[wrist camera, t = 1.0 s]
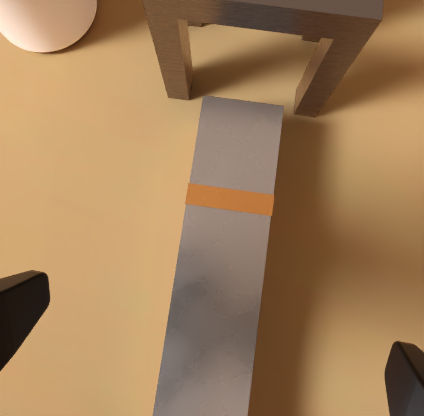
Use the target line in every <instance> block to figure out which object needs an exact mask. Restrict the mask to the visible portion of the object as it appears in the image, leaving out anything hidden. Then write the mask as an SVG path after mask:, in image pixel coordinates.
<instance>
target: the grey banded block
mask: <svg viewBox="0 0 424 416" xmlns="http://www.w3.org/2000/svg"><path fill="white" fill-rule="evenodd" d="M283 110H284V106H281V105H273V104H266V103H258V102H251V101H243V100H236V99H228V98H221V97H213V96H206V95H203V100H202V107H201V113H200V119H199V126H198V132H197V138H196V145H195V151H194V157H193V164H192V170H191V176H190V183H188V190H187V196H186V202H185V204H186V208H185V215H184V221H183V227H182V234H181V240H180V246H179V253H178V259H177V265H176V272H175V278H174V284H173V291H172V297H171V303H170V310H169V316H168V322H167V329H166V335H165V341H164V348H163V354H162V360H161V367H160V373H159V379H158V386H157V392H156V398H155V405H154V411H153V416H247V415H248V407H249V398H250V390H251V381H252V373H253V364H254V356H255V347H256V339H257V330H258V322H259V314H260V305H261V297H262V288H263V280H264V271H265V263H266V254H267V246H268V237H269V229H270V220H271V216H272V212H273V203H274V187H275V178H276V170H277V161H278V153H279V144H280V136H281V127H282V119H283Z"/></svg>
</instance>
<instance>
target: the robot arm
mask: <svg viewBox="0 0 424 416" xmlns="http://www.w3.org/2000/svg"><path fill="white" fill-rule="evenodd" d="M49 302H50V290H49V281H48V276H47V274H46V273H44V272H40V271H34V270H31V271H27V272H23V273H19V274H16V275H12V276H8V277H5V278H1V279H0V371H1V370H2V369H3V368H4V366H5V365H6V364H7V363H8V362H9V360H10V359H11V358H12V357H13V355H14V354H15V353H16V351H17V350H18V349H19V347H20V346H21V345H22V343H23V342H24V340H25V339H26V337H27V336H28V335H29V333H30V332H31V330H32V329H33V327H34V326H35V325H36V323H37V322H38V320H39V319H40V317H41V316H42V315H43V313H44V312H45V310H46V309H47V307H48V305H49ZM385 385H386V392H387V399H388V406H389V413H390V416H424V352H423V351H422V350H421V349H419V348H418V347H417V346H416V345H414V344H411V343H406V342H400V341H396V342H394V343H393V345H392V348H391V351H390V354H389V358H388V361H387V364H386V368H385Z"/></svg>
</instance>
